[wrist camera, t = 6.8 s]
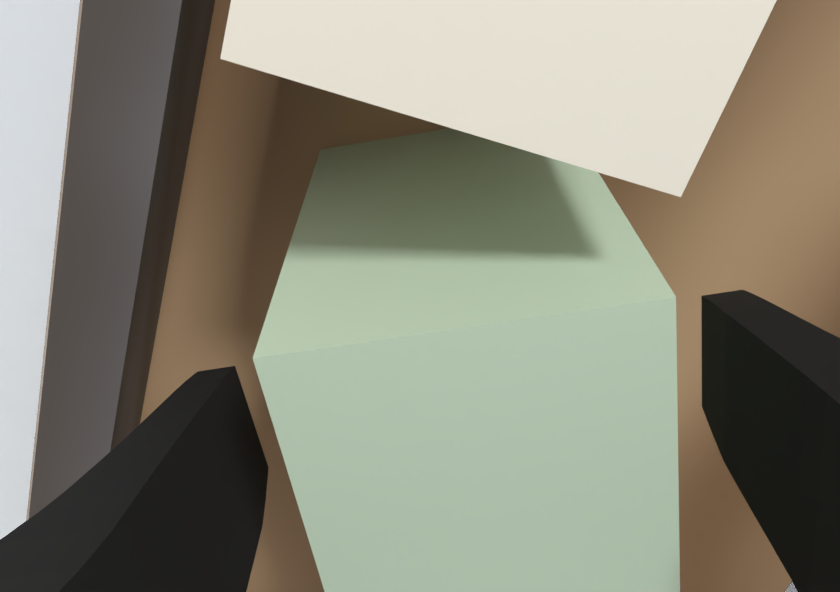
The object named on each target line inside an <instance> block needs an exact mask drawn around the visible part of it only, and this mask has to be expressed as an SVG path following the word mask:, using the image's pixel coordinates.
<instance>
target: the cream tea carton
mask: <svg viewBox="0 0 840 592" xmlns="http://www.w3.org/2000/svg"><path fill="white" fill-rule="evenodd" d="M776 1H777V0H231V3H230V9H229V14H228V19H227V25H226V30H225V35H224V41H223V46H222V52H221V57H220V59H223V60H226V61H229V62H233V63H236V64H239V65H243V66H246V67H249V68H253V69H256V70H259V71H263V72H266V73H269V74H272V75H276V76H279V77H282V78H286V79H289V80H292V81H296V82H299V83H302V84H306V85H309V86H312V87H316V88H319V89H322V90H326V91H329V92H332V93H336V94H339V95H342V96H346V97H349V98H352V99H356V100H359V101H362V102H366V103H369V104H372V105H376V106H379V107H382V108H386V109H389V110H392V111H396V112H399V113H402V114H406V115H409V116H412V117H416V118H419V119H422V120H426V121H429V122H432V123H436V124H439V125H442V126H445V127H449V128H452V129H455V130H459V131H462V132H465V133H469V134H472V135H475V136H479V137H482V138H485V139H489V140H492V141H495V142H499V143H502V144H505V145H509V146H512V147H515V148H519V149H522V150H525V151H529V152H532V153H535V154H539V155H542V156H545V157H549V158H552V159H555V160H559V161H562V162H565V163H569V164H572V165H575V166H579V167H582V168H585V169H589V170H592V171H595V172H599V173H602V174H605V175H608V176H612V177H615V178H618V179H622V180H625V181H628V182H632V183H635V184H638V185H642V186H645V187H648V188H652V189H655V190H658V191H662V192H665V193H668V194H672V195H675V196H678V197H681V196H682V194H683V192H684V190H685V188H686V185H687V183H688V181H689V179H690V177H691V175H692V173H693V171H694V169H695V167H696V165H697V163H698V161H699V159H700V157H701V155H702V153H703V151H704V149H705V147H706V144H707V142H708V140H709V138H710V136H711V134H712V132H713V130H714V128H715V126H716V124H717V122H718V120H719V118H720V116H721V114H722V112H723V110H724V108H725V105H726V103H727V101H728V99H729V97H730V95H731V93H732V91H733V89H734V87H735V85H736V83H737V81H738V79H739V77H740V75H741V73H742V71H743V69H744V66H745V64H746V62H747V60H748V58H749V56H750V54H751V52H752V50H753V48H754V46H755V44H756V42H757V40H758V38H759V36H760V34H761V32H762V30H763V28H764V25H765V23H766V21H767V19H768V17H769V15H770V13H771V11H772V9H773V7H774V5H775V3H776Z"/></svg>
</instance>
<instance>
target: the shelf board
mask: <svg viewBox="0 0 840 592" xmlns="http://www.w3.org/2000/svg"><path fill="white" fill-rule="evenodd" d="M230 3H231V0H80V7H79V16H78V26H77V36H76V45H75V55H74V65H73V74H72V84H71V94H70V103H69V113H68V123H67V133H66V142H65V152H64V162H63V171H62V181H61V191H60V200H59V210H58V220H57V229H56V239H55V249H54V258H53V268H52V278H51V288H50V297H49V307H48V317H47V326H46V336H45V346H44V355H43V365H42V375H41V384H40V394H39V404H38V413H37V423H36V433H35V443H34V452H33V462H32V472H31V481H30V491H29V501H28V510H27V520H28V519H30V518H31V517H33V516H34V515H35V514H37V513H38V512H39V511H41V510H42V509H43V508H44V507H46V506H47V505H48V504H50V503H51V502H52V501H53V500H55V499H56V498H57V497H58V496H60V495H61V494H62V493H63V492H65V491H66V490H67V489H68V488H69V487H70V486H72V485H73V484H74V483H75V482H76V481H77V480H78V479H80V478H81V477H82V476H83V475H84V474H85V473H87V472H88V471H89V470H90V469H91V468H92V467H93V466H95V465H96V464H97V463H98V462H99V461H100V460H101V459H103V458H104V457H105V456H106V455H107V454H108V453H110V452H111V451H112V450H113V449H114V448H115V447H116V446H117V445H118V444H119V443H120V442H122V441H123V440H124V439H125V438H126V437H127V436H128V435H129V434H130V433H131V432H132V431H133V430H134V429H135V428H136V427H137V426H138V425H140V424H141V423H142V422H143V421H144V420H145V419H146V418H147V417H148V416H149V415H150V414H151V413H152V412H153V411H154V410H155V409H156V408H157V407H158V406H159V405H161V404H162V403H163V402H164V401H165V400H166V399H167V398H168V397H169V396H170V395H171V394H172V393H173V392H174V391H175V390H176V389H177V388H179V387H180V386H181V385H182V384H183V383H184V382H185V381H186V380H188V379H189V378H190V377H191V376H192V375H194V374H195V373H196V372H198V371H204V370H211V369H218V368H224V367H231V366H235V367H236V370H237V373H238V376H239V380H240V383H241V386H242V389H243V392H244V395H245V398H246V401H247V404H248V407H249V410H250V413H251V416H252V419H253V422H254V425H255V428H256V431H257V434H258V437H259V440H260V443H261V446H262V449H263V452H264V455H265V458H266V461H267V464H268V467H269V468H268V479H267V491H266V501H265V510H264V518H263V525H262V530H261V534H260V538H259V542H258V547H257V551H256V555H255V559H254V563H253V567H252V571H251V575H250V579H249V583H248V587H247V591H246V592H325V591H324V588H323V585H322V582H321V579H320V575H319V572H318V569H317V566H316V562H315V559H314V556H313V553H312V549H311V546H310V543H309V540H308V536H307V533H306V530H305V527H304V523H303V520H302V517H301V514H300V511H299V507H298V504H297V501H296V498H295V494H294V491H293V488H292V485H291V481H290V478H289V475H288V472H287V468H286V465H285V462H284V459H283V455H282V452H281V449H280V446H279V443H278V439H277V436H276V433H275V430H274V426H273V423H272V420H271V417H270V413H269V410H268V407H267V404H266V400H265V397H264V394H263V391H262V387H261V384H260V381H259V378H258V375H257V371H256V368H255V365H254V362H253V355H254V352H255V349H256V346H257V343H258V340H259V337H260V334H261V331H262V328H263V325H264V322H265V318H266V315H267V312H268V309H269V306H270V303H271V300H272V297H273V294H274V291H275V288H276V285H277V282H278V278H279V275H280V272H281V269H282V266H283V263H284V260H285V257H286V254H287V251H288V248H289V245H290V242H291V238H292V235H293V232H294V229H295V226H296V223H297V220H298V217H299V214H300V211H301V208H302V205H303V202H304V198H305V195H306V192H307V189H308V186H309V183H310V180H311V177H312V174H313V171H314V168H315V165H316V162H317V158H318V155H319V152H320V149H325V148H331V147H337V146H344V145H350V144H356V143H362V142H368V141H374V140H381V139H387V138H393V137H399V136H405V135H411V134H418V133H424V132H430V131H436V130H442V129H448V128H449V127H445V126H442V125H439V124H436V123H432V122H429V121H426V120H422V119H419V118H416V117H412V116H409V115H406V114H402V113H399V112H396V111H392V110H389V109H386V108H382V107H379V106H376V105H372V104H369V103H366V102H362V101H359V100H356V99H352V98H349V97H346V96H342V95H339V94H336V93H332V92H329V91H326V90H322V89H319V88H316V87H312V86H309V85H306V84H302V83H299V82H296V81H292V80H289V79H286V78H282V77H279V76H276V75H272V74H269V73H266V72H263V71H259V70H256V69H253V68H249V67H246V66H243V65H239V64H236V63H233V62H229V61H226V60H223V59H220V57H221V52H222V46H223V41H224V35H225V30H226V25H227V19H228V14H229V9H230ZM598 173H599V172H598ZM599 174H600V176H601V178H602V179H603V181H604V182H605V184H606V186H607V187H608V189H609V190H610V192H611V194H612V195H613V197H614V198H615V200H616V202H617V203H618V205H619V206H620V208H621V210H622V211H623V213H624V214H625V216H626V218H627V219H628V221H629V222H630V224H631V226H632V227H633V229H634V230H635V232H636V234H637V235H638V237H639V238H640V240H641V242H642V243H643V245H644V246H645V248H646V250H647V251H648V253H649V254H650V256H651V258H652V259H653V261H654V262H655V264H656V266H657V267H658V269H659V270H660V272H661V274H662V275H663V277H664V278H665V280H666V281H667V283H668V285H669V286H670V288H671V289H672V291H673V293H674V294H675V296H676V329H677V403H678V477H679V550H680V592H785V590H786V589H787V588H788V586H789V585H790V583H791V582H792V580H791V578H790V576H789V574H788V573H787V571H786V569H785V567H784V566H783V564H782V562H781V561H780V559H779V557H778V555H777V554H776V552H775V550H774V548H773V547H772V545H771V543H770V542H769V540H768V538H767V536H766V535H765V533H764V531H763V529H762V528H761V526H760V524H759V523H758V521H757V519H756V517H755V516H754V514H753V512H752V511H751V509H750V507H749V505H748V504H747V502H746V500H745V498H744V497H743V495H742V493H741V491H740V490H739V488H738V486H737V484H736V482H735V481H734V479H733V477H732V475H731V474H730V472H729V470H728V468H727V466H726V465H725V463H724V461H723V458H722V456H721V454H720V451H719V449H718V446H717V444H716V442H715V439H714V437H713V434H712V432H711V429H710V426H709V424H708V421H707V419H706V416H705V413H704V411H703V408H702V300H701V296H703V295H710V294H717V293H723V292H730V291H737V290H745V291H748V292H750V293H752V294H754V295H756V296H759V297H761V298H763V299H765V300H767V301H769V302H771V303H773V304H775V305H776V306H778V307H780V308H782V309H784V310H786V311H788V312H790V313H792V314H794V315H796V316H798V317H800V318H801V319H803V320H805V321H807V322H809V323H811V324H813V325H815V326H817V327H819V328H821V329H823V330H825V331H827V332H829V333H831V334H833V335H835V336H837V337H839V338H840V0H777V1H776V3H775V5H774V7H773V9H772V11H771V13H770V15H769V17H768V19H767V21H766V23H765V25H764V28H763V30H762V32H761V34H760V36H759V38H758V40H757V42H756V44H755V46H754V48H753V50H752V52H751V54H750V56H749V58H748V60H747V62H746V64H745V66H744V69H743V71H742V73H741V75H740V77H739V79H738V81H737V83H736V85H735V87H734V89H733V91H732V93H731V95H730V97H729V99H728V101H727V103H726V105H725V108H724V110H723V112H722V114H721V116H720V118H719V120H718V122H717V124H716V126H715V128H714V130H713V132H712V134H711V136H710V138H709V140H708V142H707V144H706V147H705V149H704V151H703V153H702V155H701V157H700V159H699V161H698V163H697V165H696V167H695V169H694V171H693V173H692V175H691V177H690V179H689V181H688V183H687V185H686V188H685V190H684V192H683V194H682V196H681V197H678V196H675V195H672V194H668V193H665V192H662V191H658V190H655V189H652V188H648V187H645V186H642V185H638V184H635V183H632V182H628V181H625V180H622V179H618V178H615V177H612V176H608V175H605V174H602V173H599ZM27 520H26V521H27Z"/></svg>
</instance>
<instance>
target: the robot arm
mask: <svg viewBox="0 0 840 592" xmlns="http://www.w3.org/2000/svg"><path fill="white" fill-rule="evenodd" d="M701 300H702V408H703V411H704V413H705V416H706V419H707V421H708V424H709V426H710V429H711V432H712V434H713V437H714V439H715V442H716V444H717V446H718V449H719V451H720V454H721V456H722V458H723V461H724V463H725V465H726V466H727V468H728V470H729V472H730V474H731V475H732V477H733V479H734V481H735V482H736V484H737V486H738V488H739V490H740V491H741V493H742V495H743V497H744V498H745V500H746V502H747V504H748V505H749V507H750V509H751V511H752V512H753V514H754V516H755V517H756V519H757V521H758V523H759V524H760V526H761V528H762V529H763V531H764V533H765V535H766V536H767V538H768V540H769V542H770V543H771V545H772V547H773V548H774V550H775V552H776V554H777V555H778V557H779V559H780V561H781V562H782V564H783V566H784V567H785V569H786V571H787V573H788V574H789V576H790V578H791V580H792V581H793V583H794V585H795V587H796V589H797V591H798V592H840V338H839V337H837V336H835V335H833V334H831V333H829V332H827V331H825V330H823V329H821V328H819V327H817V326H815V325H813V324H811V323H809V322H807V321H805V320H803V319H801V318H800V317H798V316H796V315H794V314H792V313H790V312H788V311H786V310H784V309H782V308H780V307H778V306H776V305H775V304H773V303H771V302H769V301H767V300H765V299H763V298H761V297H759V296H756V295H754V294H752V293H750V292H748V291H745V290H737V291H730V292H723V293H717V294H710V295H703V296H701ZM268 468H269V467H268V464H267V461H266V458H265V455H264V452H263V449H262V446H261V443H260V440H259V437H258V434H257V431H256V428H255V425H254V422H253V419H252V416H251V413H250V410H249V407H248V404H247V401H246V398H245V395H244V392H243V389H242V386H241V383H240V380H239V376H238V373H237V370H236V367H235V366H231V367H224V368H218V369H211V370H204V371H198V372H196V373H195V374H194V375H192V376H191V377H190V378H189V379H188V380H186V381H185V382H184V383H183V384H182V385H181V386H180V387H179V388H177V389H176V390H175V391H174V392H173V393H172V394H171V395H170V396H169V397H168V398H167V399H166V400H165V401H164V402H163V403H162V404H161V405H159V406H158V407H157V408H156V409H155V410H154V411H153V412H152V413H151V414H150V415H149V416H148V417H147V418H146V419H145V420H144V421H143V422H142V423H141V424H140V425H138V426H137V427H136V428H135V429H134V430H133V431H132V432H131V433H130V434H129V435H128V436H127V437H126V438H125V439H124V440H123V441H122V442H120V443H119V444H118V445H117V446H116V447H115V448H114V449H113V450H112V451H111V452H110V453H108V454H107V455H106V456H105V457H104V458H103V459H101V460H100V461H99V462H98V463H97V464H96V465H95V466H93V467H92V468H91V469H90V470H89V471H88V472H87V473H85V474H84V475H83V476H82V477H81V478H80V479H78V480H77V481H76V482H75V483H74V484H73V485H72V486H70V487H69V488H68V489H67V490H66V491H65V492H63V493H62V494H61V495H60V496H58V497H57V498H56V499H55V500H53V501H52V502H51V503H50V504H48V505H47V506H46V507H44V508H43V509H42V510H41V511H39V512H38V513H37V514H35V515H34V516H33V517H31V518H30V519H28V520H27V521H26V522H24V523H23V524H22V525H20V526H19V527H17V528H16V529H15V530H13V531H12V532H11V533H9V534H8V535H7V536H5V537H4V538H2V539H1V540H0V592H246V591H247V587H248V583H249V579H250V575H251V571H252V567H253V563H254V559H255V555H256V551H257V547H258V542H259V538H260V534H261V530H262V525H263V518H264V510H265V501H266V491H267V479H268Z"/></svg>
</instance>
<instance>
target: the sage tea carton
mask: <svg viewBox="0 0 840 592" xmlns="http://www.w3.org/2000/svg"><path fill="white" fill-rule="evenodd" d="M253 362H254V365H255V368H256V371H257V375H258V378H259V381H260V384H261V387H262V391H263V394H264V397H265V400H266V404H267V407H268V410H269V413H270V417H271V420H272V423H273V426H274V430H275V433H276V436H277V439H278V443H279V446H280V449H281V452H282V455H283V459H284V462H285V465H286V468H287V472H288V475H289V478H290V481H291V485H292V488H293V491H294V494H295V498H296V501H297V504H298V507H299V511H300V514H301V517H302V520H303V523H304V527H305V530H306V533H307V536H308V540H309V543H310V546H311V549H312V553H313V556H314V559H315V562H316V566H317V569H318V572H319V575H320V579H321V582H322V585H323V588H324V591H325V592H680V550H679V477H678V403H677V329H676V296H675V294H674V293H673V291H672V289H671V288H670V286H669V285H668V283H667V281H666V280H665V278H664V277H663V275H662V274H661V272H660V270H659V269H658V267H657V266H656V264H655V262H654V261H653V259H652V258H651V256H650V254H649V253H648V251H647V250H646V248H645V246H644V245H643V243H642V242H641V240H640V238H639V237H638V235H637V234H636V232H635V230H634V229H633V227H632V226H631V224H630V222H629V221H628V219H627V218H626V216H625V214H624V213H623V211H622V210H621V208H620V206H619V205H618V203H617V202H616V200H615V198H614V197H613V195H612V194H611V192H610V190H609V189H608V187H607V186H606V184H605V182H604V181H603V179H602V178H601V176H600V174H599V173H598V172H595V171H592V170H589V169H585V168H582V167H579V166H575V165H572V164H569V163H565V162H562V161H559V160H555V159H552V158H549V157H545V156H542V155H539V154H535V153H532V152H529V151H525V150H522V149H519V148H515V147H512V146H509V145H505V144H502V143H499V142H495V141H492V140H489V139H485V138H482V137H479V136H475V135H472V134H469V133H465V132H462V131H459V130H455V129H452V128H448V129H442V130H436V131H430V132H424V133H418V134H411V135H405V136H399V137H393V138H387V139H381V140H374V141H368V142H362V143H356V144H350V145H344V146H337V147H331V148H325V149H320V152H319V155H318V158H317V162H316V165H315V168H314V171H313V174H312V177H311V180H310V183H309V186H308V189H307V192H306V195H305V198H304V202H303V205H302V208H301V211H300V214H299V217H298V220H297V223H296V226H295V229H294V232H293V235H292V238H291V242H290V245H289V248H288V251H287V254H286V257H285V260H284V263H283V266H282V269H281V272H280V275H279V278H278V282H277V285H276V288H275V291H274V294H273V297H272V300H271V303H270V306H269V309H268V312H267V315H266V318H265V322H264V325H263V328H262V331H261V334H260V337H259V340H258V343H257V346H256V349H255V352H254V355H253Z"/></svg>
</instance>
